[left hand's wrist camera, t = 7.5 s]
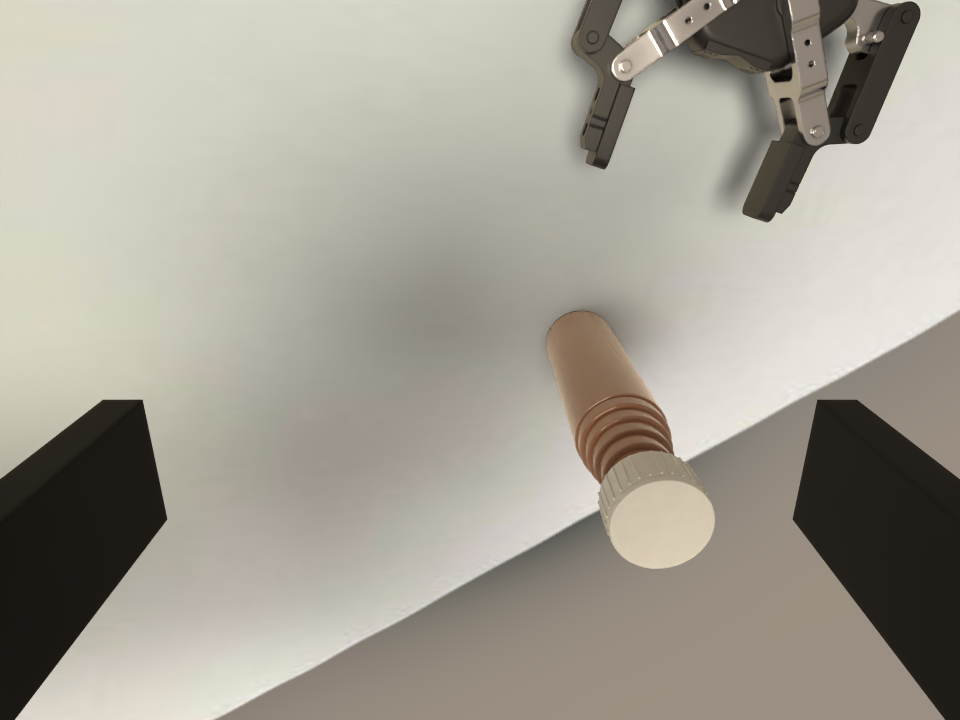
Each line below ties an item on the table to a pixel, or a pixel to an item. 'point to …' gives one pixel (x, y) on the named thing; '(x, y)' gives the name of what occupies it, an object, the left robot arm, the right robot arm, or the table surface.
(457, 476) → the table surface
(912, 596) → the left robot arm
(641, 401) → the bottle
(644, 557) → the cap
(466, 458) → the table surface
